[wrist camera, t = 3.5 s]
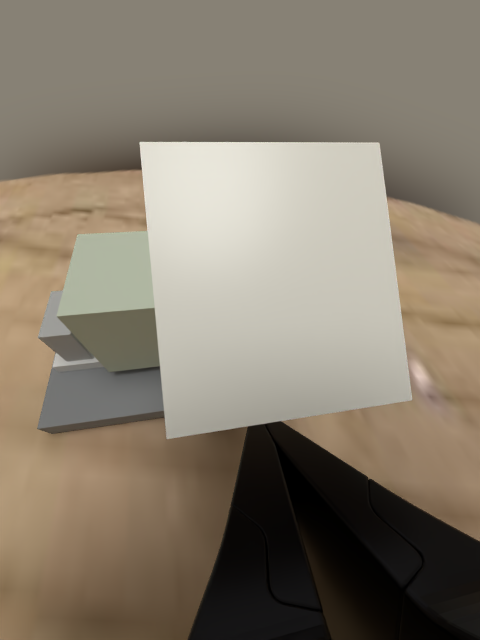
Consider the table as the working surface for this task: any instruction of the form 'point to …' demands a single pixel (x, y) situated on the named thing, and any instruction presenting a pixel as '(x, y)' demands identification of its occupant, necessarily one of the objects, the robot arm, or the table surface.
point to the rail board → (101, 399)
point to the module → (271, 282)
